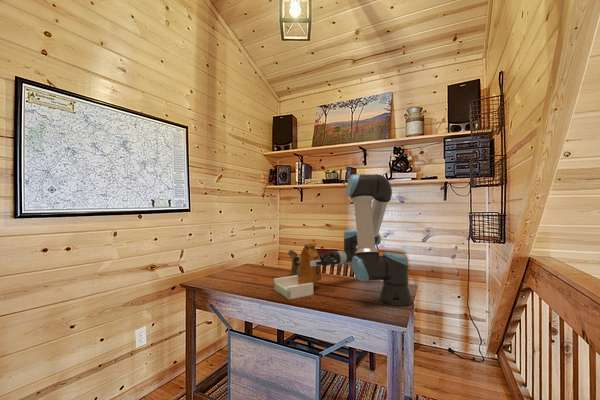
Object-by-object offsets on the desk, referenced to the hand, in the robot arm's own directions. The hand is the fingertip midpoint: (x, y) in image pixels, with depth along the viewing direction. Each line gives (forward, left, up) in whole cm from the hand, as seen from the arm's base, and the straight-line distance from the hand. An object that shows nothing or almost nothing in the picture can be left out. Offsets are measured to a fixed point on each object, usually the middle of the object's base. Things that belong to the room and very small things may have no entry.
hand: (304, 261), depth 155 cm
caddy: (-1, +7, -15) cm, 17 cm away
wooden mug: (+27, -9, -16) cm, 33 cm away
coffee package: (0, -4, -12) cm, 13 cm away
